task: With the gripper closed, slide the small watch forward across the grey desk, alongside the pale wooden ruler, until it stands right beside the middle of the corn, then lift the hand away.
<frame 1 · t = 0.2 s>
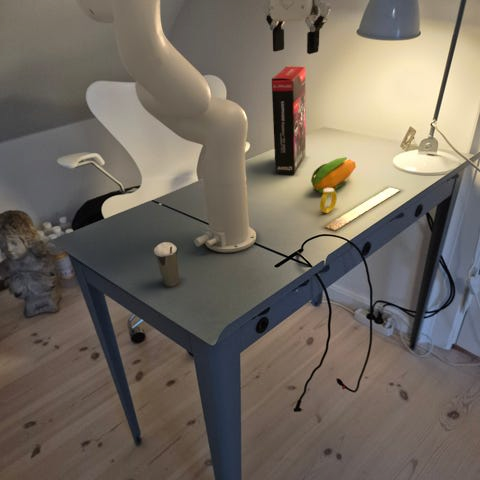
hand: (295, 51, 99), 36 cm above the table, tool pointing down, fingers open, 9 cm apart
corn: (333, 185, 132), on the table
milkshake: (172, 284, 96), on the table
graphics card box: (290, 166, 146), on the table
ruler: (364, 208, 118), on the table
watch: (327, 211, 118), on the table
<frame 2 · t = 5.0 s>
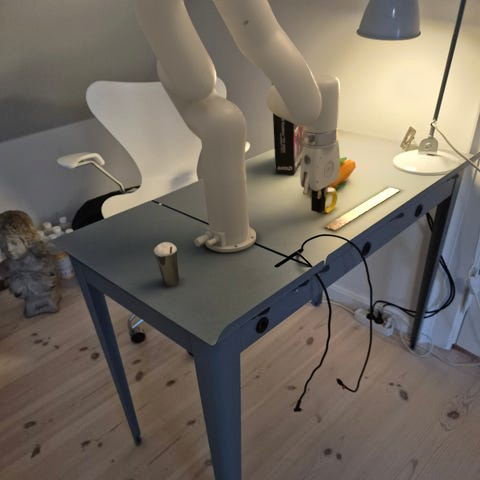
hand: (317, 210, 115), 2 cm above the table, tool pointing down, fingers closed
watch: (328, 211, 119), on the table, touching gripper
everything else where it was.
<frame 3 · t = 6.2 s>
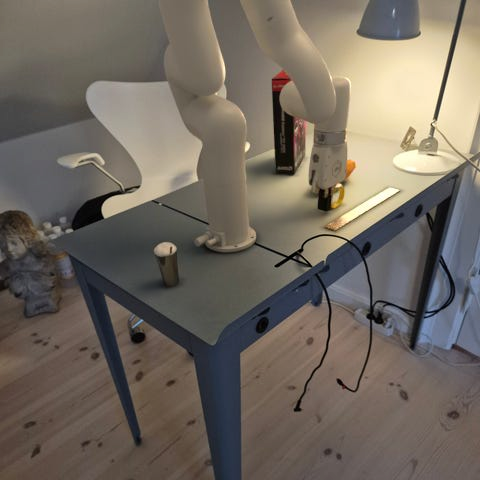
hand: (323, 209, 117), 1 cm above the table, tool pointing down, fingers closed
watch: (335, 207, 120), on the table, touching gripper
everything else where it was.
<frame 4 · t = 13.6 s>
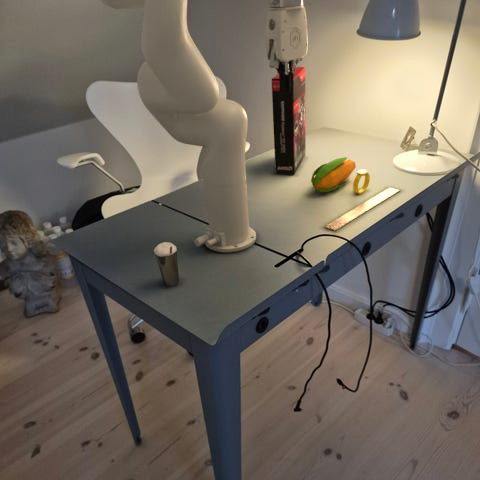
hand: (286, 91, 111), 27 cm above the table, tool pointing down, fingers closed
watch: (360, 192, 126), on the table
everything else where it was.
at the end: watch inside the target area on the table beside the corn (1.4 cm from its centre), on the table; watch tilted 0°; watch moved 15.3 cm from its start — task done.
